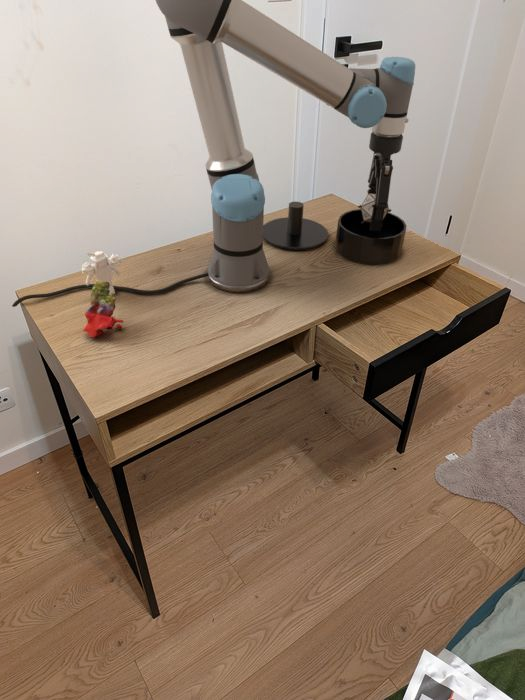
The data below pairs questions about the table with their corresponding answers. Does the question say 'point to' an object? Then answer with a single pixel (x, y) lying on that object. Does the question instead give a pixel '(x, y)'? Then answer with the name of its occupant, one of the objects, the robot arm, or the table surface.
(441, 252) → the table surface
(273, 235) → the pan lid
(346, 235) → the pan
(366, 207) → the game die
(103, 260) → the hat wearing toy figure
